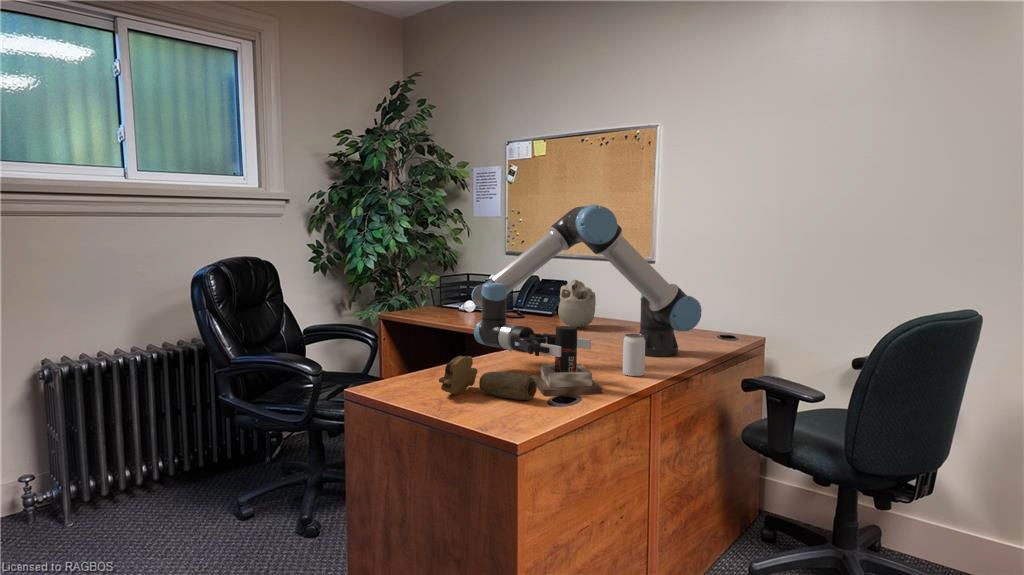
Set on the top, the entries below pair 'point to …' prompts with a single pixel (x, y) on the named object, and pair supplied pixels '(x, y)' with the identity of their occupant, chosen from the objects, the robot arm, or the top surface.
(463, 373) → the wooden carving
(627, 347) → the can
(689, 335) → the top surface
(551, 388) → the socket
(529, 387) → the olive hollow cylinder
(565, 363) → the deodorant
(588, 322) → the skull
